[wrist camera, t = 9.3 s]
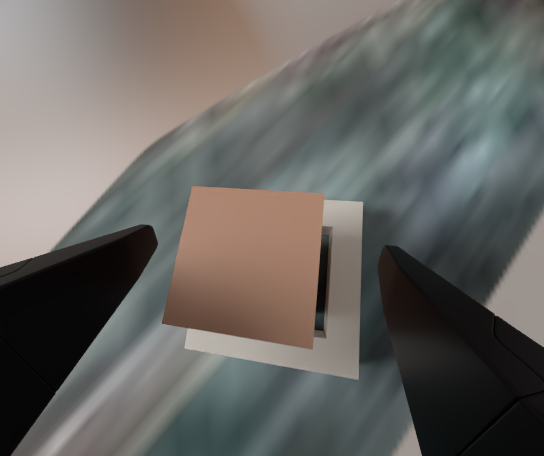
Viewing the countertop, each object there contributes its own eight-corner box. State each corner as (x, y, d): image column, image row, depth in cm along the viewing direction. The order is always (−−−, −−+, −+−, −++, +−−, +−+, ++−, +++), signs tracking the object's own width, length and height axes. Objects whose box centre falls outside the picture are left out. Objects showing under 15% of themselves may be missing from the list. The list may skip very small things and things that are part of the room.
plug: (309, 313, 16) (313, 349, 6) (245, 303, 17) (161, 323, 7) (314, 245, 17) (324, 187, 7) (255, 239, 18) (193, 180, 8)
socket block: (350, 365, 15) (358, 379, 12) (202, 339, 16) (184, 348, 14) (355, 214, 17) (362, 202, 15) (225, 206, 19) (213, 193, 16)
